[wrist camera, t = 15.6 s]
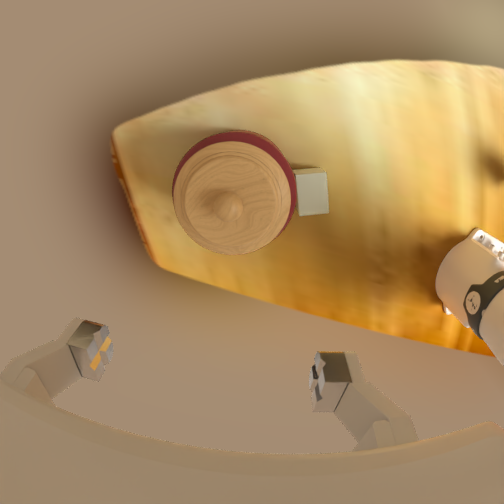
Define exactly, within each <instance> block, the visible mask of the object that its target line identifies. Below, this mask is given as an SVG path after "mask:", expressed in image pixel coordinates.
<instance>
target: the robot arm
mask: <svg viewBox="0 0 504 504" xmlns="http://www.w3.org/2000/svg"><path fill="white" fill-rule="evenodd" d="M480 236H481V237H480ZM435 287H436V293H437V295H438V297H439V298H440V300H441V301H442V302H443V307H444V311H445V313H447V314H453V315H454V316H455V317H456V318H457V319H458V320H459V321H460V322H461V323H462V324H463V325H464V326H465V327H466V328H468V327H471V328H472V330H473V332H474V333H475V334H476V335H477V336H478V337H479V338H480V339H482V340H484V341H485V342H486V344H487V345H488V346H489V348H490V349H491V351H492V352H493V353H494V355H495V356H496V358H497V359H498V360H499V362H500V363H501V364H502V365H503V366H504V243H503V242H501V241H500V240H498V239H496V238H495V237H493V236H492V235H490V234H488V233H487V232H485V231H483V230H481V229H480V228H475V229H474V230H473V231H472V232H471V234H470V235H469V236H468V237H467V238H466V239H465V240H463V241H462V242H460V243H458V244H457V245H455V246H454V247H453V248H452V249H451V250H450V251H449V252H448V254H447V255H446V256H445V258H444V259H443V261H442V263H441V265H440V267H439V270H438V272H437V276H436V283H435ZM108 335H109V329H108V326H106V325H103V324H99V323H96V322H92V321H88V320H83V319H80V318H74V319H73V320H72V321H71V322H70V323H69V325H68V326H67V327H66V329H65V330H64V331H63V332H62V334H61V335H60V336H59V337H58V339H57V340H56V341H54V340H52V341H50V342H48V343H46V344H44V345H41V346H39V347H37V348H35V349H33V350H31V351H28V352H26V353H24V354H22V355H20V356H17V357H15V358H13V359H12V360H11V361H10V362H9V364H8V365H7V366H6V367H5V369H4V370H3V371H2V373H1V374H0V504H504V429H503V428H502V427H500V426H499V425H498V424H496V423H493V422H492V421H486V422H483V423H480V424H477V425H474V426H471V427H468V428H465V429H462V430H459V431H455V432H451V433H448V434H445V435H441V436H437V437H433V438H429V439H425V440H420V441H419V440H418V437H417V434H416V431H415V428H414V425H413V422H412V419H411V416H410V415H409V414H407V413H406V412H405V411H403V410H402V409H401V408H400V407H399V406H398V405H396V404H395V403H394V402H393V401H392V400H390V399H389V398H388V397H387V396H386V395H384V394H383V393H382V392H381V391H380V390H378V389H377V388H376V387H375V386H374V385H372V384H371V383H370V382H366V380H365V377H364V374H363V371H362V367H361V364H360V362H359V358H358V355H357V353H356V352H325V351H321V352H320V351H318V352H317V353H316V355H315V358H314V359H315V365H313V366H312V368H311V371H310V377H309V387H310V390H311V391H312V392H313V394H312V397H311V403H312V410H313V412H334V414H335V415H336V416H337V418H338V419H339V420H340V421H341V422H342V424H343V425H344V426H345V427H346V429H347V430H348V431H349V432H350V433H351V435H352V436H353V437H354V438H355V439H356V440H357V442H358V444H357V445H356V447H355V448H354V449H353V451H350V452H338V453H323V454H322V453H321V454H264V453H249V452H236V451H226V450H218V449H210V448H203V447H196V446H190V445H184V444H179V443H174V442H169V441H164V440H159V439H154V438H151V437H146V436H142V435H138V434H135V433H131V432H127V431H123V430H120V429H116V428H114V427H110V426H107V425H104V424H101V423H98V422H95V421H92V420H89V419H87V418H84V417H81V416H78V415H76V414H73V413H71V412H68V411H66V410H63V409H61V408H58V407H56V406H55V404H54V403H53V401H52V399H53V398H54V397H56V396H57V395H58V394H60V393H61V392H63V391H64V390H65V389H67V388H68V387H70V386H71V385H72V384H74V383H75V382H77V381H78V380H80V379H81V378H82V377H84V378H87V379H91V380H94V381H98V382H99V381H100V379H101V377H102V375H103V373H104V371H105V368H104V365H106V364H108V363H109V362H110V360H111V358H112V354H113V344H112V341H111V340H110V339H109V337H108Z"/></svg>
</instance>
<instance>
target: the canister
mask: <svg viewBox="0 0 504 504" xmlns="http://www.w3.org/2000/svg"><path fill="white" fill-rule="evenodd" d="M172 197H173V203H174V208H175V212H176V215H177V218H178V220H179V222H180V224H181V226H182V228H183V229H184V230H185V232H186V233H187V234H188V235H189V236H190V237H191V238H192V239H193V240H194V241H195V242H196V243H198V244H199V245H201V246H202V247H204V248H206V249H208V250H211V251H213V252H216V253H220V254H227V255H240V254H246V253H250V252H253V251H256V250H258V249H260V248H262V247H264V246H265V245H267V244H268V243H270V242H271V241H273V240H274V239H275V238H276V237H277V236H279V235H280V234H281V232H282V231H283V230H284V229H285V228H286V226H287V225H288V223H289V221H290V219H291V217H292V215H293V213H294V209H295V205H296V199H297V187H296V181H295V177H294V173H293V171H292V168H291V166H290V164H289V163H288V161H287V160H286V158H285V157H284V155H283V154H282V153H281V151H280V150H279V149H278V147H277V146H276V145H275V144H274V143H273V142H272V141H270V140H269V139H268V138H266V137H264V136H262V135H260V134H258V133H255V132H251V131H245V130H236V131H229V132H224V133H219V134H215V135H212V136H210V137H207V138H205V139H203V140H202V141H200V142H198V143H197V144H196V145H194V146H193V147H192V148H191V149H190V150H189V151H188V152H187V153H186V154H185V156H184V157H183V158H182V160H181V161H180V163H179V165H178V167H177V169H176V172H175V175H174V179H173V186H172Z"/></svg>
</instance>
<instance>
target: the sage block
mask: <svg viewBox="0 0 504 504" xmlns="http://www.w3.org/2000/svg"><path fill="white" fill-rule="evenodd" d="M292 171H293V173H294V177H295V181H296V187H297V199H296V208H297V211H298V214H299V216H306V215H316V214H326V213H329V201H328V185H327V172H325V171H324V170H323V169H322V168H320V167H317V168H306V169H296V170H292Z"/></svg>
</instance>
